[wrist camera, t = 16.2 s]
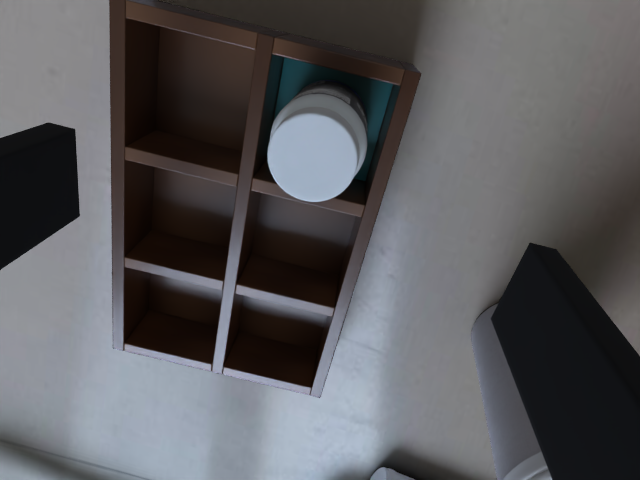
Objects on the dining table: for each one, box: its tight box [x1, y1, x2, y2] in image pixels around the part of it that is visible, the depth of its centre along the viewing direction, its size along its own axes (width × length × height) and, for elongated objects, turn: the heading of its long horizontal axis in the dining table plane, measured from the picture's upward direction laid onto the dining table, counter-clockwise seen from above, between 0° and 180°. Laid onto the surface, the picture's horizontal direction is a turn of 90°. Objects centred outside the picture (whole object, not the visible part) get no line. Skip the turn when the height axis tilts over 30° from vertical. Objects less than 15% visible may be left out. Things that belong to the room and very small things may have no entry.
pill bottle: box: [267, 80, 367, 202], centre depth 22 cm, size 5×5×8 cm
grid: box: [109, 0, 421, 398], centre depth 28 cm, size 15×23×5 cm
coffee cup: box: [471, 304, 552, 480], centre depth 26 cm, size 10×10×15 cm
